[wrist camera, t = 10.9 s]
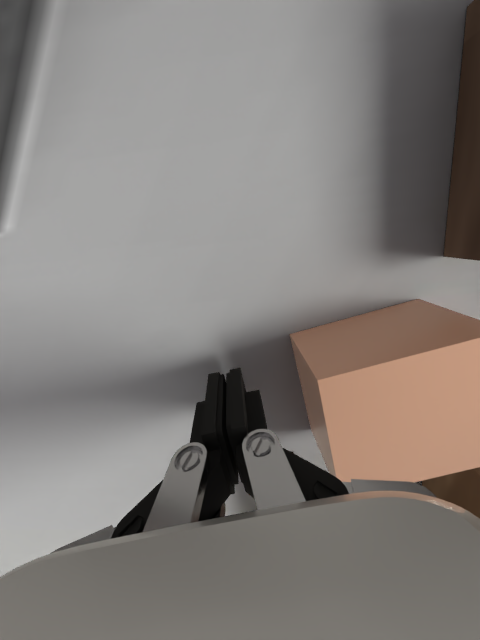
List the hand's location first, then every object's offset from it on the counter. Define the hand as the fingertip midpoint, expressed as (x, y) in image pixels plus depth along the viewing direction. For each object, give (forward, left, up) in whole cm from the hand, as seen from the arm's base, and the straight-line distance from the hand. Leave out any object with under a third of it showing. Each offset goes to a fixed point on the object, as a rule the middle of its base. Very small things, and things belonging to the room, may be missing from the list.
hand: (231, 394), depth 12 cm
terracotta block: (-7, +1, -2) cm, 8 cm away
